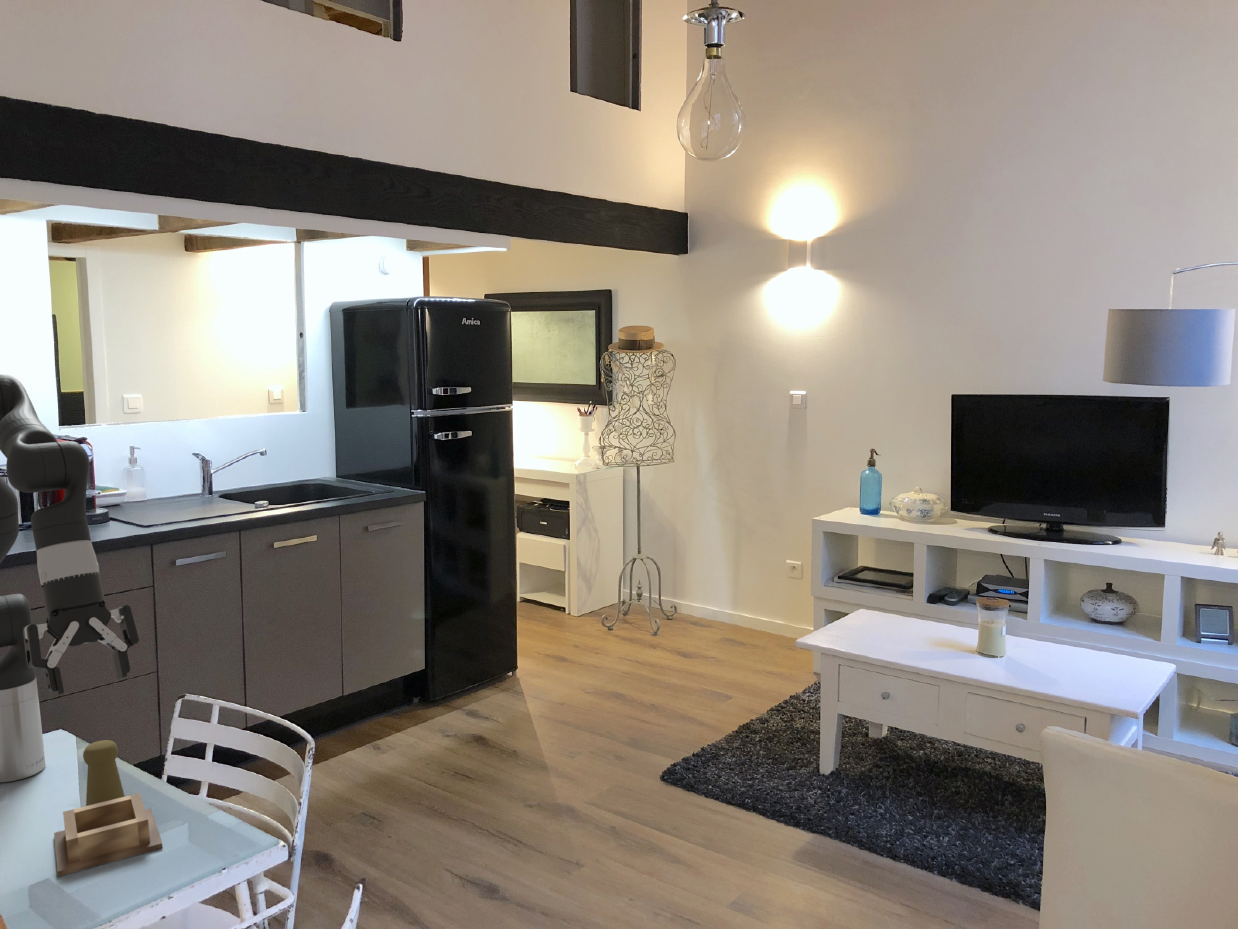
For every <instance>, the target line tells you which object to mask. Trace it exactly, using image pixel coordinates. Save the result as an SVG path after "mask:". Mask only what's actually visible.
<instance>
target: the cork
mask: <svg viewBox="0 0 1238 929" xmlns="http://www.w3.org/2000/svg"><path fill="white" fill-rule="evenodd" d="M118 754H119V748H118V745H117V744H116V742H115V741H114V740H109V739H108V740H107V739H105V740H103V739H102V740H98V741H95V742H92V743H89V744H88V745H87V746H85V748H84V750H83V753H82V758H83V760H84V763H85V764H86V765H87V774H86V775H87V777H86V779H87V780H86V795H85V796H86V798H85V806H89V805H93V804H97V803H101V802H105V801H109V800H113V799H117V798H121V797H125V793H124V789H123V784H122V781H121V780H122V779H121V777H120V773H119V769H118V766H117V765H118V764H117V761H116V759H117V757H118Z"/></svg>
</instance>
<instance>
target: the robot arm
mask: <svg viewBox="0 0 1238 929" xmlns="http://www.w3.org/2000/svg"><path fill="white" fill-rule="evenodd" d="M34 407H35V406H34V405H33V403H32V400H31V399H30V397H29V394H28V392H27V390H26V388H25V387H24V385H23V384H22V382H21V381H20V380H19V379H18V378H16V377H15V376H13V375H11V374H10V375H8V374H0V452H1V453H2V454H3V455H4V457H5V458H6V464H5V465H6V468H5V469H6V476H7V480H8V482H9V484H10V485H11V486H10V485H9V484H8V483H7V482H6V481H5V479H4V478H2V476H0V564H1V563H2V562H3V560H5V558H6V556H7V555H8V553H9V552H10V551H11V549H12V548H13V546H14V545H15V543H16V541H17V538H18V536H19V532H20V522H19V519H20V518H19V501H18V498H17V495H16V493H15V492H14V491H13V489H12V488H11V487H13V488H14V489H15V490H17V491H19V492H20V493H21V492H22V493H25V494H27V493H28V494H32V493H33V494H34V493H41V492H48V491H49V492H50V491H58V490H59V491H60V490H63V491H64V495H63V498H62V500H61V501H58V502H56V503H54V504H51V505H47V506H45V507H40V508H39V509H36V510H35V511H34V512H33V513H32V514H31V516H30V525H31V530H32V536H33V541H34V545H35V550H36V562H37V564H36V566H37V572H38V577H39V582H40V586H41V587H40V588H41V593H42V594H41V595H42V599H43V604H44V609H45V613H46V621H45V623H40V624H33V617H32V615H33V614H32V609H31V605H30V602H29V600H28V599H27V598H28V597H26V596H25V595H24V594H22V593H12V594H7V595H6V594H5V595H0V648H5V647H9V649H8V650H7V652H4V654H3V655H2V656H1V657H0V783H8V782H9V783H10V782H15V781H19V780H22V779H25V778H30V777H31V776H34V775H36V774H38V773H40V772H41V771H43V770H44V769H45V768H46V767H47V766H46V758H45V749H44V748H45V747H44V737H43V730H42V729H43V728H42V719H41V718H42V717H41V709H40V701H39V700H40V699H39V691H38V684H37V683H38V682H37V674H36V669H41V670H42V671H43V672H44V675H45V676H44V677H45V681H46V686H47V690H48V691H49V693H53V695H54V696H59V695H63V694H64V692H65V691H64V690H65V689H64V685H63V679H62V675H61V674H62V673H61V669H60V667H58V666H57V665H58V663H59V661H60V659H61V658H62V657H63V656H62V655H63V654H64V653H65V652H66V650H67V648H75V647H78V646H81V645H87V644H92V643H95V642H96V643H97V642H99V643H101V644H102V645H104V646H106V647H107V648H109V650H111V651H113V652H114V654H112V658H113V659H112V660H113V663H114V668H115V673H116V678H117V679H118V680H120V679H125V678H127V677H128V673H130V672H131V665H130V659H129V655H128V650H129V649H130V648H131V647H133V646H134V645H136V644H138V643H139V641H140V639H139V635H138V634H139V633H138V631H137V626H136V624H135V621H134V620H135V619H134V616H133V612H132V608H131V606H130V605H128V604H127V605H126V604H125V605H123V606H119V607H118V608H115V609H114V608H113V609H112V610H111V609H108V608H107V605H106V600H105V594H104V589H103V585H102V580H101V573H100V564H99V562H98V559H97V555H96V552H95V550H94V546H93V543H92V539H91V534H90V528H89V524H88V518H87V502H86V501H87V489H88V481H89V473H90V465H91V464H90V457H89V454H88V453H87V450H86V449H85V447H83V446H82V445H81V444H80V443H79V442H76V441H72V440H71V441H69V440H66V441H58V440H57V438H56V436H55V435H54V434H53V433H52V432H51V431H50V430H49V429H48V428H47V427H46V426H45V424H43V423H42V421H41V420H40V419H39V416H38V414H37V411H36V410H35V408H34ZM111 618H112V619H113V620H114V622H115V623H119V624H118V625H119V627H120V630H121V633H122V634H121V635H122V638H123V640H121V639H120V638H119V637H118V636H117V634H116V633H115V632H113V631H112V630H111V629H109V628H108V627H107V626H108V625H109V623H110V620H111ZM45 632H47V634H49V635H51V637H53V638H54V641H53V642H52V644H51V646H50V647H49V650H48V652H47V654H46V657H45V658H42V653H41V644H40V640H41V639H42V638H43V637H44V633H45Z"/></svg>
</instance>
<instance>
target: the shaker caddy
mask: <svg viewBox="0 0 1238 929" xmlns="http://www.w3.org/2000/svg"><path fill="white" fill-rule="evenodd" d="M62 815H63V824H64V830H60V831H56V832H54V833H53V835H54V847H55V860H56V870H57V877H62V876H65V875H70V874H73V873H77V872H81V871H84V870H87V869H91V868H94V867H95V868H96V867H99V866H102V865H107V864H109V863H114V862H117V861H120V860H125V859H129V858H131V857H134V856H135V857H136V856H138V855H139V856H140V855H142V854H146V853H150V852H153V851H156V850H160V849H161V850H162V849H163V843H162V838H161V835H160V832H159V829H158V826H157V823H156V820H155V816H154V813H153V810H152V808H147V809H146V808H145V805H144V801H143V798H142V795H141V792H138V793H135V794H131V795H126V796H125V797H121V798H117V799H113V800H109V801H105V802H101V803H97V804H93V805H89V806H86V805H85V806H81V807H77V808H72V809H69V810H64V811H62Z"/></svg>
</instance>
